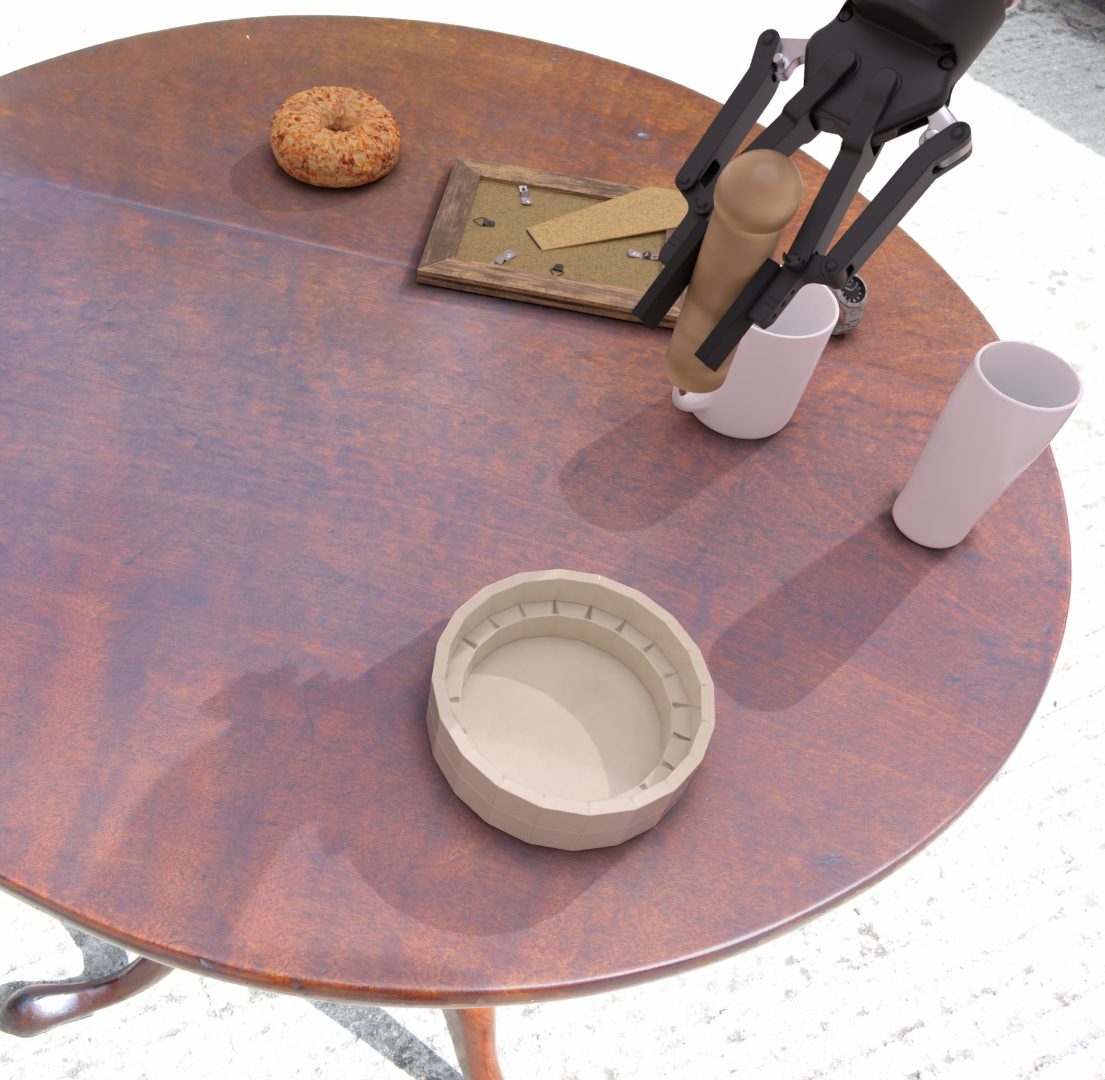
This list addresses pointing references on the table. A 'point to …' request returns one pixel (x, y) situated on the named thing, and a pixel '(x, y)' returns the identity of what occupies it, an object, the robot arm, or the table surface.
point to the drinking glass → (985, 439)
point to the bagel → (334, 137)
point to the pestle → (731, 257)
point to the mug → (768, 369)
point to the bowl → (568, 708)
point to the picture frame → (551, 238)
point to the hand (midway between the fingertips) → (673, 341)
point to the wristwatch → (851, 304)
